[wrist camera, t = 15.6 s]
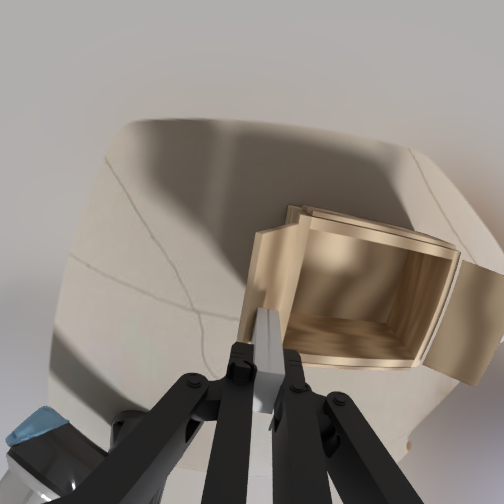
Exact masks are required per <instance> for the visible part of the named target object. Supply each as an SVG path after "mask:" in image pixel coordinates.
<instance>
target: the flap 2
mask: <svg viewBox="0 0 504 504" xmlns="http://www.w3.org/2000/svg"><path fill="white" fill-rule="evenodd" d="M503 334H504V275H501V274H499V273H496V272H494V271H491V270H488V269H486V268H483V267H481V266H478V265H475V264H473V263H470V262H467V261H464V260H462V264H461V267H460V271H459V274H458V277H457V280H456V284H455V287H454V290H453V293H452V295H451V298H450V301H449V304H448V306H447V309H446V312H445V314H444V317H443V319H442V322H441V324H440V327H439V329H438V331H437V334H436V336H435V338H434V340H433V343H432V345H431V347H430V349H429V351H428V353H427V355H426V357H425V360H424V362H423V364H422V365H425V366H427V367H429V368H431V369H434V370H436V371H438V372H440V373H443V374H445V375H447V376H450V377H452V378H454V379H457V380H459V381H461V382H464V383H466V384H469V385H471V386H473V387H476V386H477V384H478V382H479V381H480V379H481V377H482V376H483V374H484V372H485V370H486V368H487V367H488V365H489V363H490V361H491V359H492V357H493V355H494V353H495V351H496V349H497V347H498V345H499V343H500V341H501V339H502V336H503Z"/></svg>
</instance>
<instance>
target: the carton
mask: <svg viewBox="0 0 504 504" xmlns="http://www.w3.org/2000/svg"><path fill="white" fill-rule="evenodd" d="M292 223H298V224H299V228H298V233H297V238H296V243H295V247H294V252H293V257H292V262H291V266H290V271H289V275H288V280H287V284H286V289H285V293H284V297H283V302H282V306H281V310H280V315H279V318H280V327H281V337H282V347H283V348H284V349H292V350H296V351H297V352H298V353H299V354H300V356H301V361H302V366H308V367H320V368H334V369H352V370H410V368H411V367H417V366H418V364H419V362H420V360H421V358H422V356H423V354H424V352H425V350H426V348H427V346H428V344H429V341H430V339H431V337H432V335H433V332H434V330H435V328H436V325H437V323H438V320H439V318H440V315H441V313H442V310H443V307H444V305H445V302H446V299H447V296H448V294H449V291H450V288H451V285H452V282H453V278H454V275H455V272H456V269H457V265H458V262H459V258H460V255H461V252H459V251H457V250H455V249H456V246H455V245H453V244H450V243H448V242H445V241H443V240H440V239H438V238H435V237H433V236H430V235H427V234H424V233H420V232H416V231H413V230H409V229H405V228H401V227H397V226H393V225H389V224H385V223H381V222H377V221H373V220H369V219H365V218H360V217H356V216H352V215H347V214H343V213H338V212H334V211H329V210H324V209H320V208H315V207H310V206H305V205H302V207H297V206H292V205H288V208H287V214H286V219H285V224H284V225H287V224H292Z"/></svg>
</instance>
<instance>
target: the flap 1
mask: <svg viewBox="0 0 504 504" xmlns="http://www.w3.org/2000/svg"><path fill="white" fill-rule="evenodd" d="M298 228H299V224H298V223H292V224H287V225H283V226H279V227H275V228H271V229H267V230H263V231H259V232H256V234H255V239H254V245H253V251H252V256H251V262H250V267H249V273H248V279H247V284H246V290H245V296H244V301H243V307H242V313H241V318H240V324H239V330H238V335H237V341H236V342H243V343H248V344H250V342H251V337H252V333H253V328H254V323H255V319H256V314H257V309H258V307H260V308H265V309H271V310H277V311H279V315H280V310H281V306H282V302H283V297H284V293H285V289H286V284H287V280H288V275H289V271H290V266H291V262H292V257H293V252H294V247H295V243H296V238H297V233H298Z"/></svg>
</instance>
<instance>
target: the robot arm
mask: <svg viewBox="0 0 504 504" xmlns="http://www.w3.org/2000/svg"><path fill="white" fill-rule="evenodd" d="M273 409H274V416H273V418H272V421H271V424H270V426H269V431H271V428H272V468H273V504H332V499H331V492H330V487H329V480H328V474H329V476H330V478H331V480H332V482H333V484H334V486H335V488H336V490H337V492H338V494H339V496H340V498H341V500H342V502H343V504H424V503H423V502H422V500H421V499H420V497H419V496H418V494H417V493H416V491H415V490H414V488H413V487H412V486H411V484H410V483H409V481H408V480H407V479H406V477H405V475H404V474H403V473H402V471H401V470H400V468H399V467H398V465H397V464H396V462H395V461H394V460H393V458H392V457H391V455H390V454H389V452H388V451H387V449H386V448H385V447H384V445H383V444H382V442H381V441H380V439H379V438H378V436H377V435H376V434H375V432H374V431H373V429H372V428H371V426H370V425H369V423H368V422H367V421H366V419H365V418H364V416H363V415H362V413H361V412H360V410H359V409H358V407H357V406H356V405H355V403H354V402H353V400H352V399H351V398H350V397H349V396H348V395H347V394H345V393H342V392H335V391H334V392H331V393H329V394H328V395H327V397H326V396H322V395H319V394H316V393H314V392H312V390H311V387H310V386H309V385H308V384H307V383H306V382H305V377H304V371H303V367H302V361H301V356H300V354H299V353H298V352H297V351H296V350H292V349H284V348H283V347H282V337H281V327H280V318H279V311H277V310H271V309H265V308H260V307H258V309H257V314H256V319H255V323H254V328H253V333H252V337H251V342H250V344H248V343H243V342H235V343H234V344H233V345H232V348H231V353H230V358H229V364H228V367H227V373H226V375H225V377H224V378H222V379H220V380H216V381H208V379H207V378H206V377H205V376H203V375H201V374H198V373H187V374H184V375H182V376H181V377H180V378H179V379H178V380H177V382H176V383H175V384H174V385H173V386H172V387H171V388H170V389H169V390H168V392H167V393H166V394H165V395H164V396H163V397H162V398H161V399H160V400H159V401H158V403H157V404H156V405H155V406H154V407H153V408H152V409H151V410H150V411H149V412H148V414H147V413H143V412H138V411H124V412H121V413H119V414H118V415H117V416H116V418H115V419H114V421H113V423H112V426H111V438H110V449H109V451H108V453H107V452H106V451H104V450H103V449H102V448H100V447H99V446H97V445H96V444H95V443H94V442H92V441H91V440H90V439H88V438H87V437H86V436H85V435H83V434H82V433H81V432H80V431H79V430H77V429H76V428H75V427H74V426H73V425H72V424H70V423H69V420H66V419H65V418H63V417H62V416H61V415H60V414H59V413H57V412H56V411H55V410H54V409H53V408H51V407H48V406H43V407H41V408H39V409H38V410H37V411H35V412H34V413H33V414H32V415H31V416H30V417H28V418H27V419H26V420H25V421H24V422H23V423H21V424H20V426H18V427H17V428H16V429H15V430H14V431H13V432H12V433H11V434H10V435H9V436H8V437H7V438H6V443H7V445H8V446H9V447H11V448H10V450H9V451H8V452H7V454H6V457H7V461H8V465H9V469H8V470H7V472H6V473H5V475H4V476H3V478H2V479H1V481H0V504H160V502H161V498H162V494H163V491H164V487H165V483H166V480H167V477H168V475H169V474H170V472H171V471H172V470H173V468H174V467H175V465H176V464H177V462H178V461H179V460H180V459H181V457H182V456H183V454H184V452H185V451H186V449H187V448H188V446H189V445H190V443H191V442H192V440H193V439H194V437H195V436H196V434H197V433H198V431H199V429H200V428H201V426H202V425H203V423H204V421H217V424H216V429H215V434H214V439H213V444H212V449H211V454H210V459H209V464H208V469H207V475H206V479H205V485H204V490H203V495H202V500H201V504H246V497H247V483H248V470H249V456H250V441H251V426H252V411H253V412H261V413H269V414H272V412H273ZM327 472H328V474H327Z"/></svg>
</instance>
